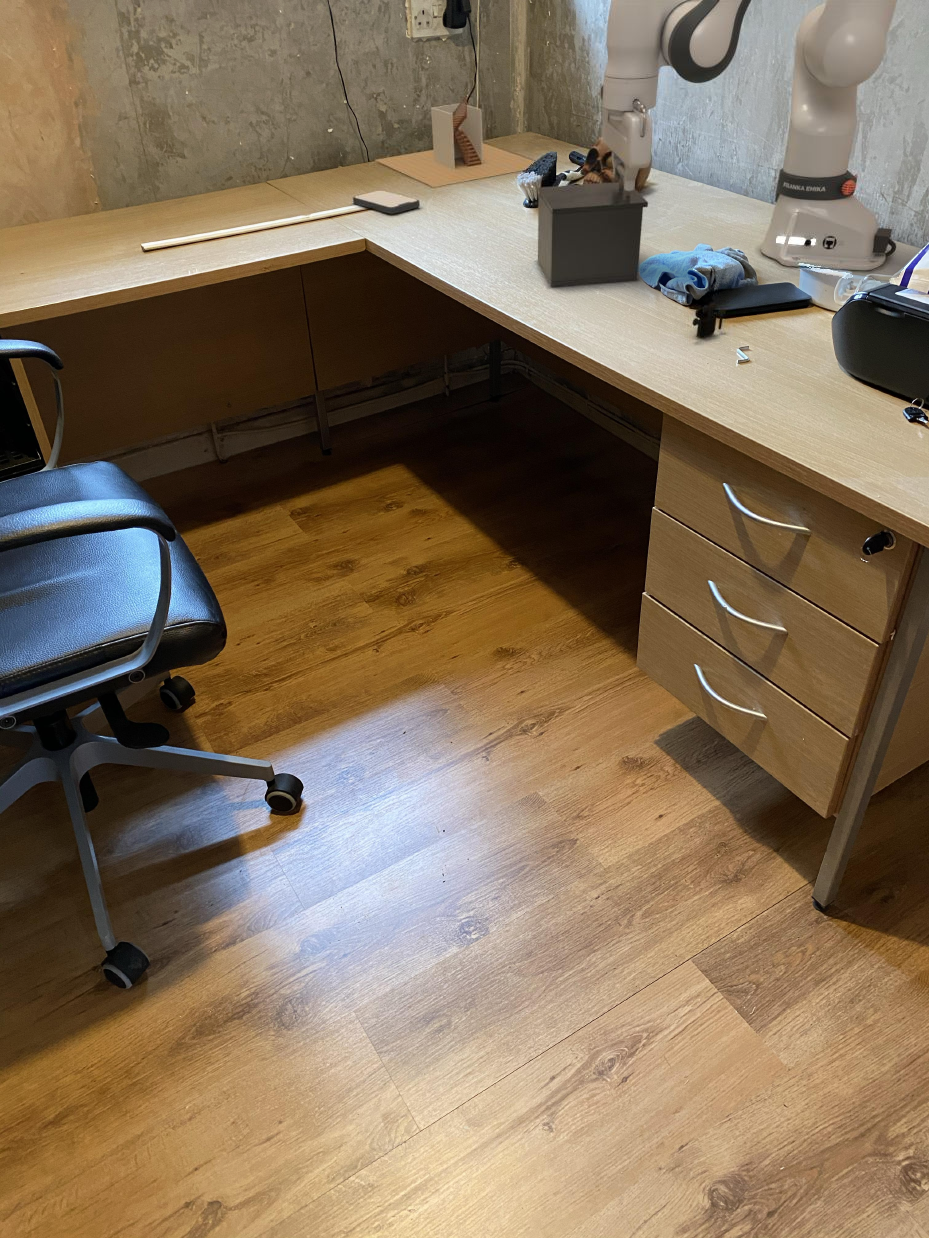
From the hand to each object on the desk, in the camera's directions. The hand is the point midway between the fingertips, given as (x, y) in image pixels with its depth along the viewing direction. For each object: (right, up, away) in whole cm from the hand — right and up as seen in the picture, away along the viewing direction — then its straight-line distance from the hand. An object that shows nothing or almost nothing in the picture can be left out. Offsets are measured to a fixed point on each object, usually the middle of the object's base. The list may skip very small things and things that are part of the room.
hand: (623, 184), depth 159 cm
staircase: (-30, +43, +78) cm, 94 cm away
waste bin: (-5, -12, +9) cm, 16 cm away
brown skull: (+6, +21, +48) cm, 53 cm away
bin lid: (-6, -2, +1) cm, 6 cm away
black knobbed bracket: (+10, -32, -17) cm, 37 cm away
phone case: (-46, +18, +49) cm, 70 cm away
